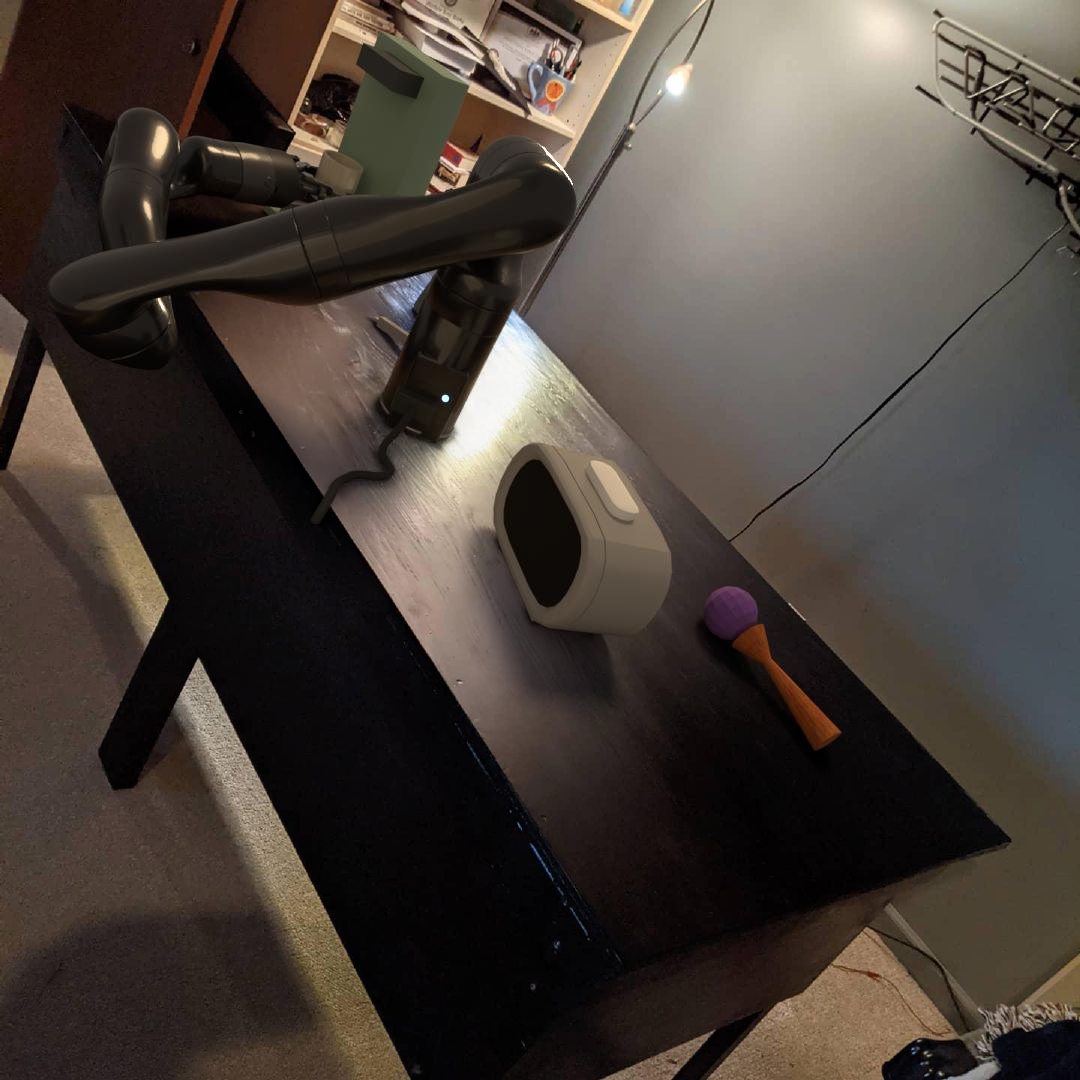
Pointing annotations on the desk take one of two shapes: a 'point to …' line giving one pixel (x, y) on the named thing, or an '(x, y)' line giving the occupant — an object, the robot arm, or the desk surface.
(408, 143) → the coffee maker
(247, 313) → the desk surface
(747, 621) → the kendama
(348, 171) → the beige cylindrical cup
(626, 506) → the alarm clock
